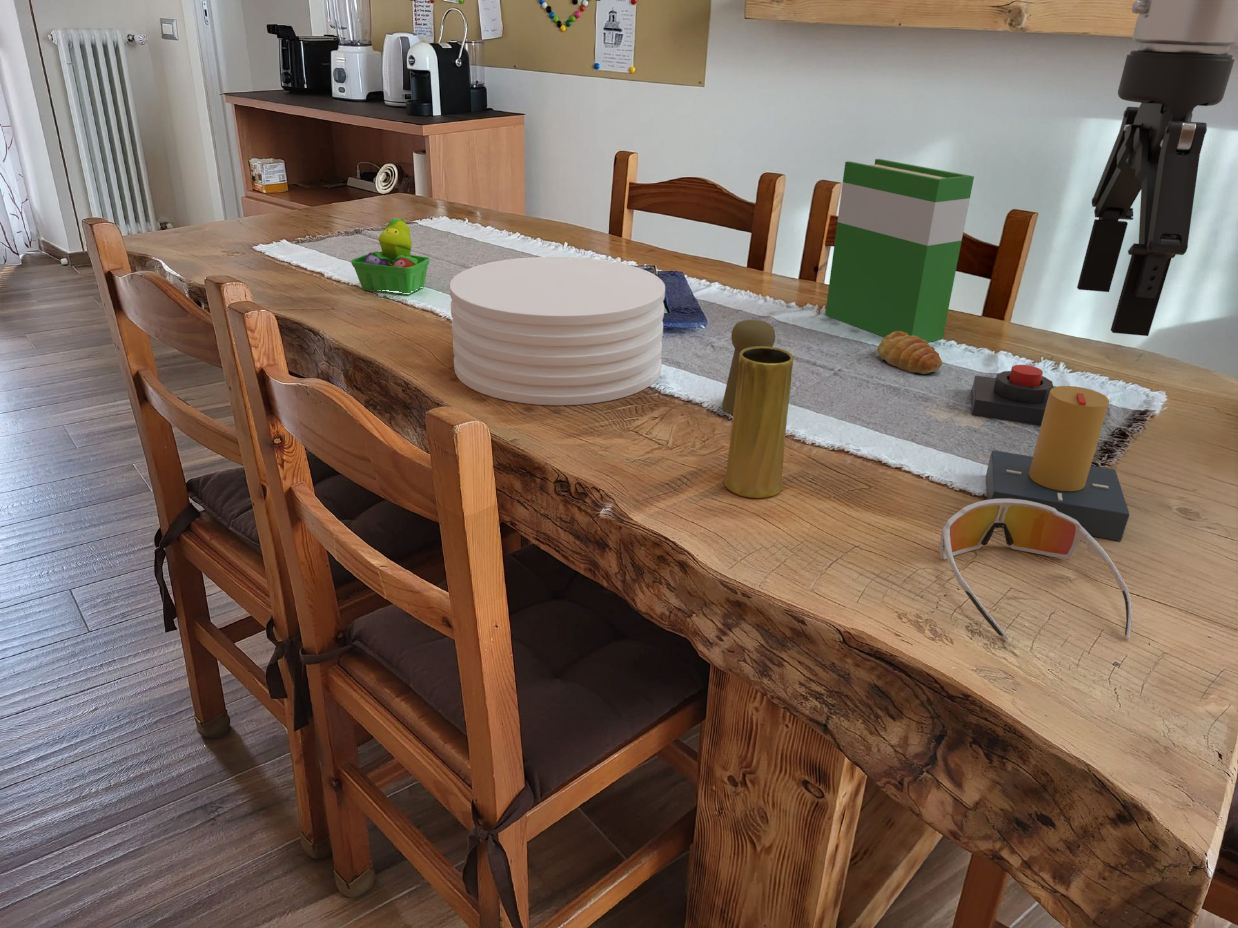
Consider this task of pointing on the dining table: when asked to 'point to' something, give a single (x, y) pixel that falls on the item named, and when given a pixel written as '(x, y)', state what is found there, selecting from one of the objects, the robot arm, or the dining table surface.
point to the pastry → (909, 353)
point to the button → (1025, 375)
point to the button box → (1010, 399)
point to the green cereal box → (897, 247)
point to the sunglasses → (1020, 539)
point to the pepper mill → (744, 337)
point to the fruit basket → (392, 263)
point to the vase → (759, 422)
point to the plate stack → (557, 329)
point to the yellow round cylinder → (1068, 438)
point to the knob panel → (1063, 494)
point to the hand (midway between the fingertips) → (1109, 310)
